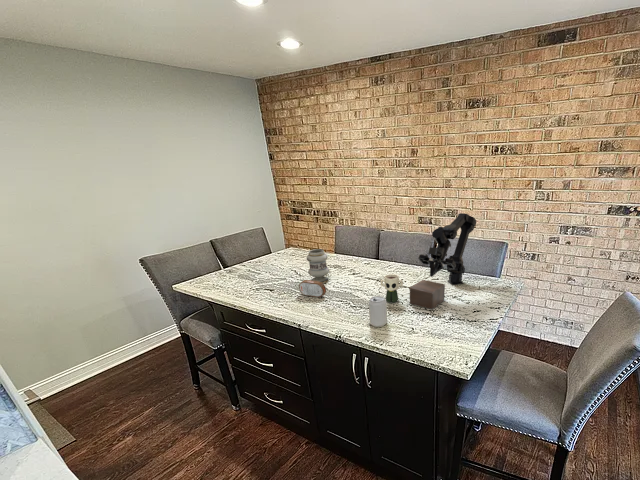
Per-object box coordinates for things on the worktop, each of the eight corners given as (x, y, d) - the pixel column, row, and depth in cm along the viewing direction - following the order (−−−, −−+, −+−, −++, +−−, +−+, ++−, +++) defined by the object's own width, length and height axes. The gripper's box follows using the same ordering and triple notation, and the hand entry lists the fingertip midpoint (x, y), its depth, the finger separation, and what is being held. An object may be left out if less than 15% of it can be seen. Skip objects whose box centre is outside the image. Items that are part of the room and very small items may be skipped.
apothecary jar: (305, 282, 197) (301, 252, 190) (317, 276, 207) (313, 247, 200) (322, 284, 192) (319, 254, 185) (334, 278, 203) (331, 249, 196)
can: (369, 320, 149) (368, 295, 145) (386, 319, 150) (385, 294, 145) (369, 328, 142) (368, 302, 138) (387, 327, 143) (386, 301, 138)
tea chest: (432, 309, 159) (432, 293, 156) (409, 303, 166) (409, 288, 163) (444, 300, 169) (444, 285, 166) (422, 295, 175) (422, 281, 172)
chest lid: (431, 294, 156) (431, 292, 155) (408, 289, 162) (408, 287, 162) (444, 285, 166) (444, 284, 165) (422, 281, 172) (422, 279, 172)
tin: (327, 296, 176) (325, 281, 173) (324, 298, 173) (322, 283, 170) (302, 293, 181) (300, 278, 177) (299, 295, 178) (297, 280, 175)
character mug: (380, 303, 166) (379, 278, 161) (382, 297, 173) (381, 273, 168) (402, 304, 165) (401, 279, 160) (403, 298, 172) (403, 274, 167)
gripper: (420, 238, 167) (408, 265, 163) (454, 242, 158) (443, 271, 154) (427, 250, 176) (416, 276, 172) (460, 255, 167) (450, 282, 163)
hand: (430, 276), depth 165 cm, fingers closed
